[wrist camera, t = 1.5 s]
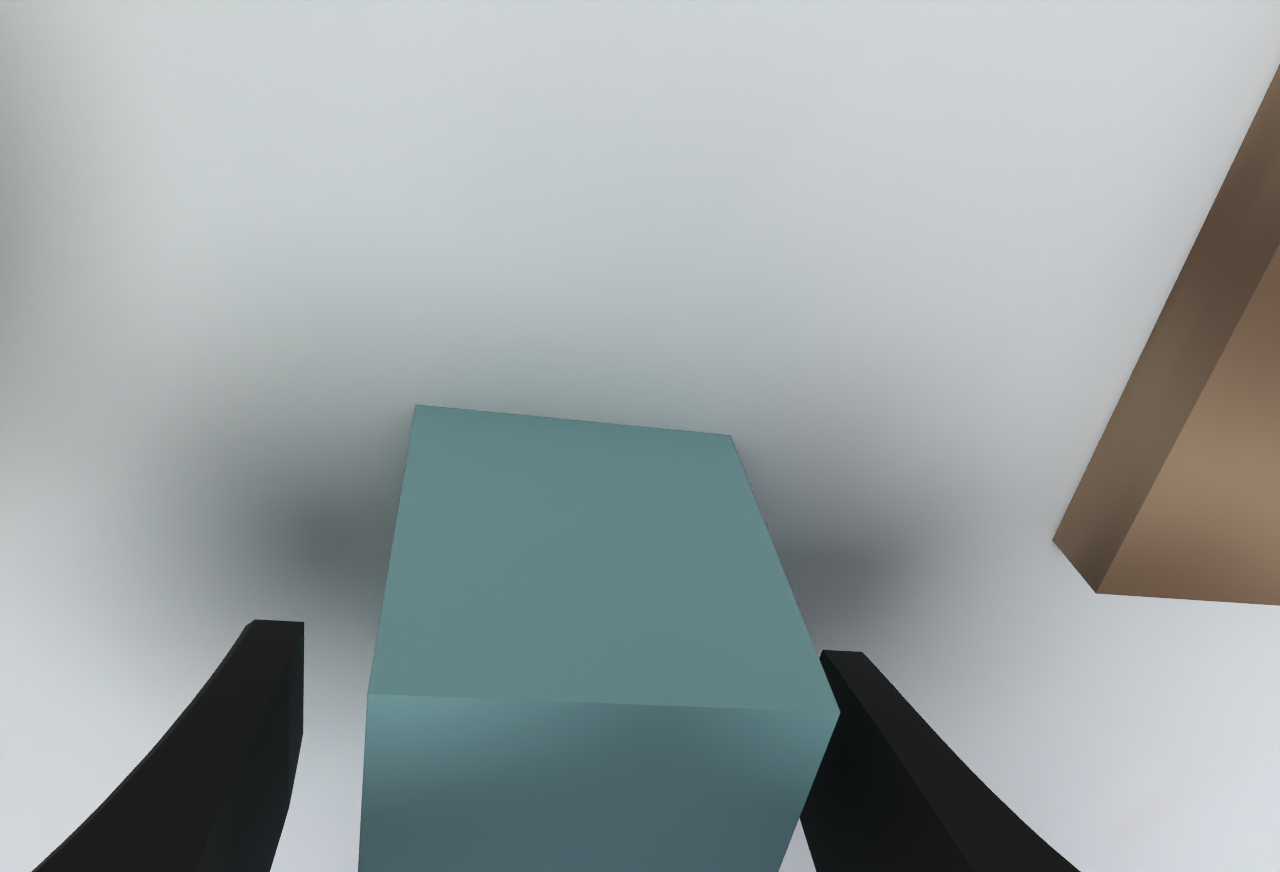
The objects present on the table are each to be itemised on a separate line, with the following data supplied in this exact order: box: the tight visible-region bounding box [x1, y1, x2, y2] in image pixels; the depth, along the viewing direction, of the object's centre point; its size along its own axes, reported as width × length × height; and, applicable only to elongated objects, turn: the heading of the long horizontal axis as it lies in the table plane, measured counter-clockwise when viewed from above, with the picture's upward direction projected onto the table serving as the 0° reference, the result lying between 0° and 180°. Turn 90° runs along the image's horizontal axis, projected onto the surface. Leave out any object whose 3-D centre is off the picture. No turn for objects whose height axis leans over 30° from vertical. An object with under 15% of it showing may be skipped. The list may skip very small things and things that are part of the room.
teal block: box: [358, 405, 840, 872], centre depth 14 cm, size 5×5×6 cm
